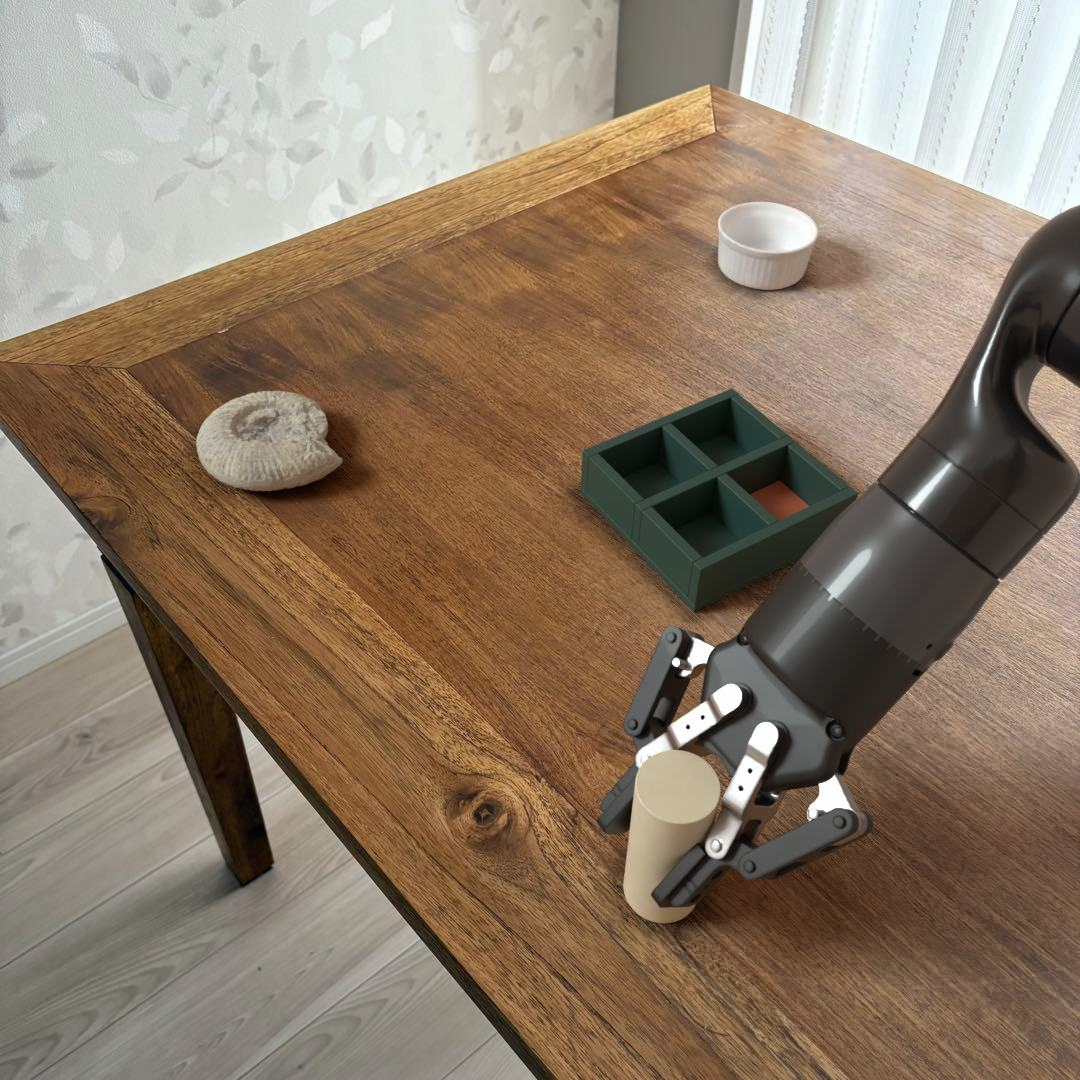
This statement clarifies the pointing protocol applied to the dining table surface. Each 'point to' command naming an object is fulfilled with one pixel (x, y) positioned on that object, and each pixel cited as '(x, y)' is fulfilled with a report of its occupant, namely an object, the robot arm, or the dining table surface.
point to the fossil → (267, 442)
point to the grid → (713, 496)
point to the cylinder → (667, 825)
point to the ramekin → (765, 244)
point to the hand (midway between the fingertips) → (637, 863)
